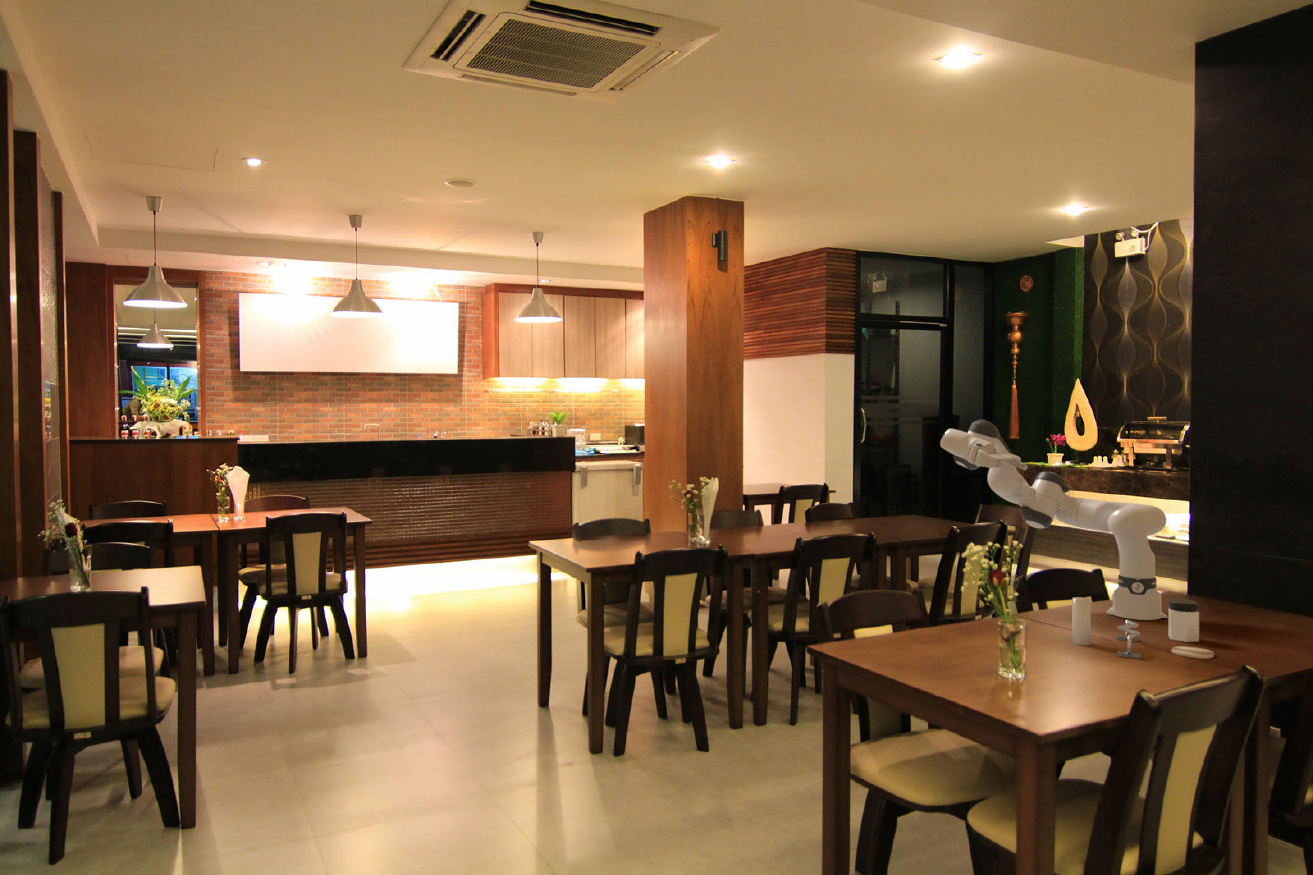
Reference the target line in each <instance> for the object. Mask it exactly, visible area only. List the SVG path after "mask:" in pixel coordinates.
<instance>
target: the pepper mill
mask: <svg viewBox="0 0 1313 875" xmlns="http://www.w3.org/2000/svg"><path fill="white" fill-rule="evenodd" d="M1071 600H1072V602H1071V603H1072V604H1071V606H1072V608H1071V610H1072V611H1071V612H1072V613H1071V614H1072V616H1071V618H1072V619H1071V620H1072V621H1071V623H1072V624H1071V626H1072V627H1071V629H1072V630H1071V632H1072V633H1071V636H1072V638H1071V642H1072V644H1073V645H1076V646H1083V647H1085V646H1090V645H1091V640H1092V639H1091V638H1092V636H1091V632H1092V629H1091V628H1092V626H1091V624H1092V623H1091V621H1092V619H1091V618H1092V617H1091V616H1092V614H1091V613H1092V609H1091V608H1092V607H1091V606H1092V602H1091V598H1088V597H1081V596H1080V597H1079V596H1077V597H1076V596H1075V597H1072V599H1071Z"/></svg>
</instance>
